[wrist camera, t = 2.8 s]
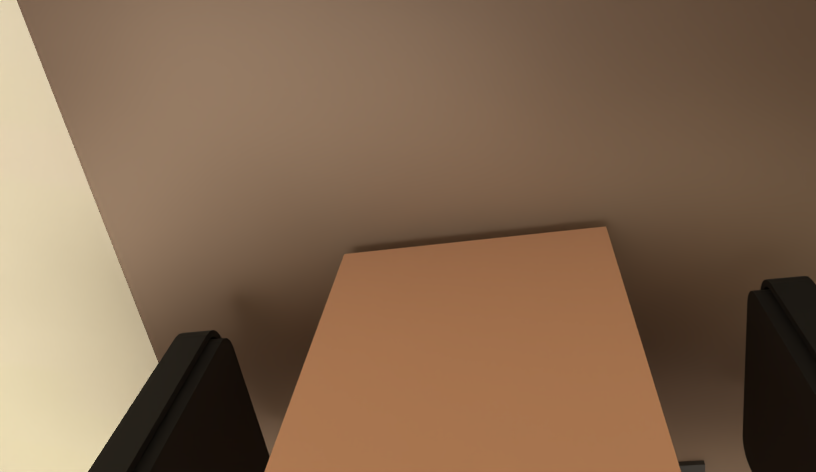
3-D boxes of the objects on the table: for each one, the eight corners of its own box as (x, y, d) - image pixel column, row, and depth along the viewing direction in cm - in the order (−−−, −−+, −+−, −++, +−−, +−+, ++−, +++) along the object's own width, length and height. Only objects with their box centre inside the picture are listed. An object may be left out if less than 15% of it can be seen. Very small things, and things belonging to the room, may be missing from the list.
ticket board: (791, 709, 19) (898, 1014, 14) (328, 709, 21) (278, 975, 16) (911, -568, 8) (1509, -1169, 3) (-41, -321, 10) (-519, -476, 5)
